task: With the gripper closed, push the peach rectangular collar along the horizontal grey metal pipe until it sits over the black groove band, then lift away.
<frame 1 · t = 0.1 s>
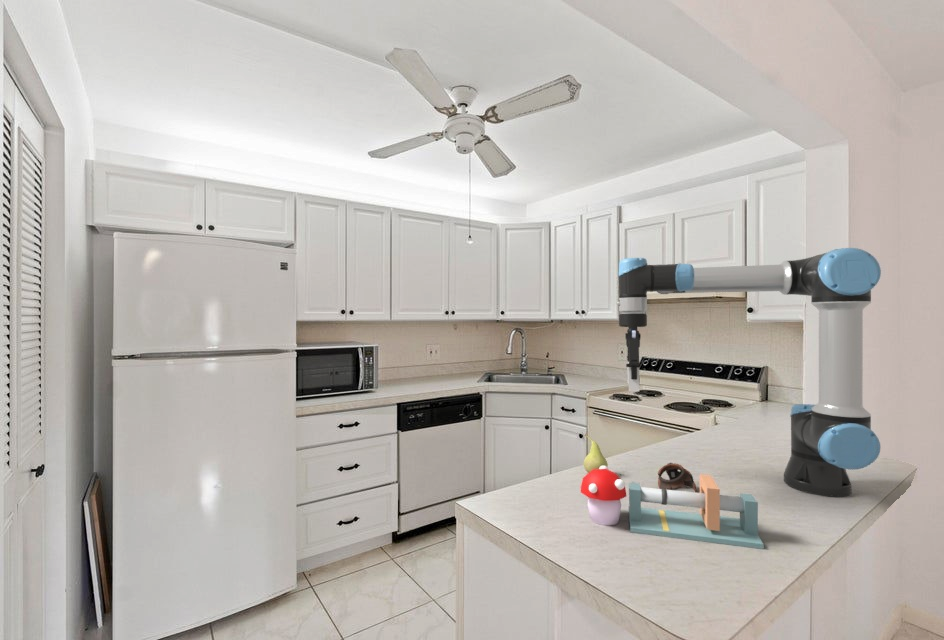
hand: (633, 387, 129), 28 cm above the counter, fingers open, 13 cm apart
pottery mug: (676, 490, 126), on the counter
peach rectangular collar: (709, 501, 102), point 6 cm above the counter, slide at -4.0 cm
fruit: (594, 476, 137), on the counter
mushroom: (603, 519, 108), on the counter
pipe rig: (689, 527, 103), on the counter
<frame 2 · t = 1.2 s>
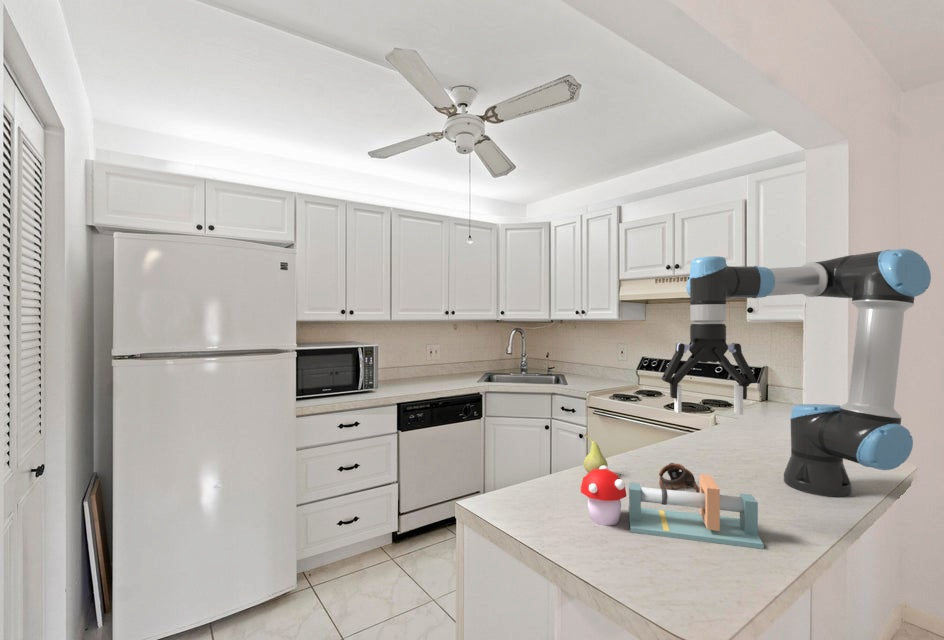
hand: (707, 412, 107), 25 cm above the counter, fingers open, 13 cm apart
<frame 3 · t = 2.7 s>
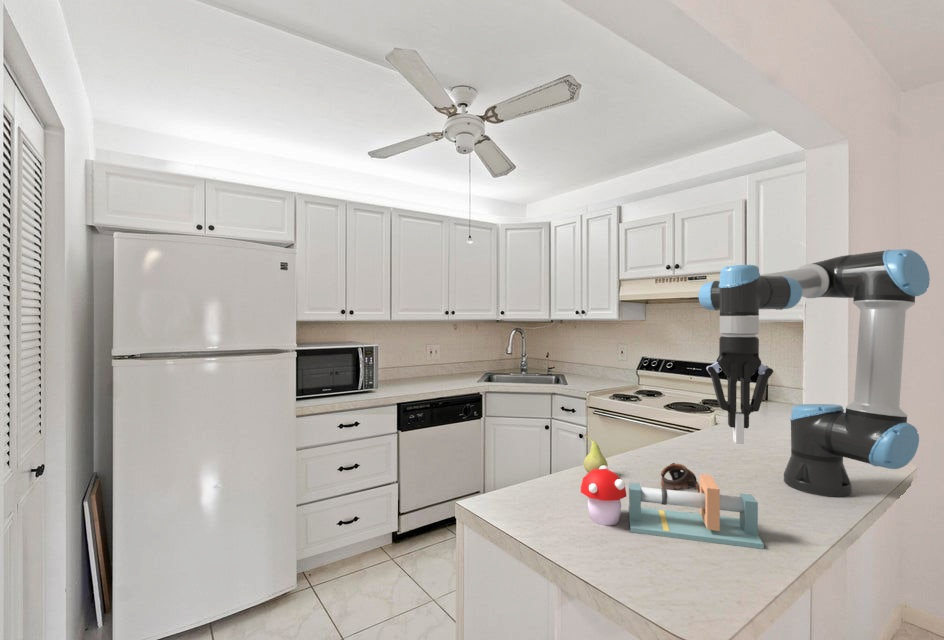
hand: (738, 442, 100), 20 cm above the counter, fingers closed
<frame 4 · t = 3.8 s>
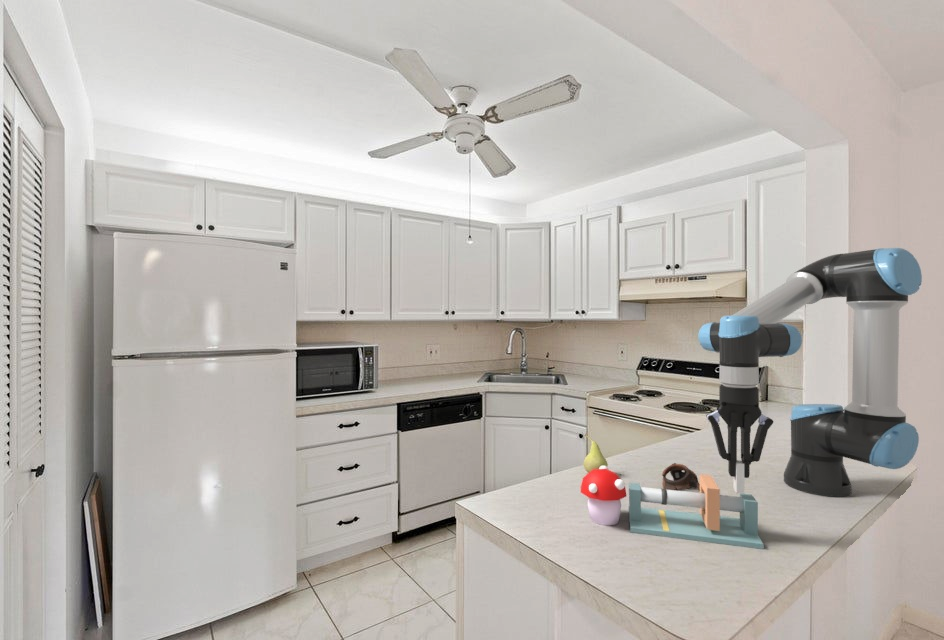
hand: (738, 491, 100), 9 cm above the counter, fingers closed
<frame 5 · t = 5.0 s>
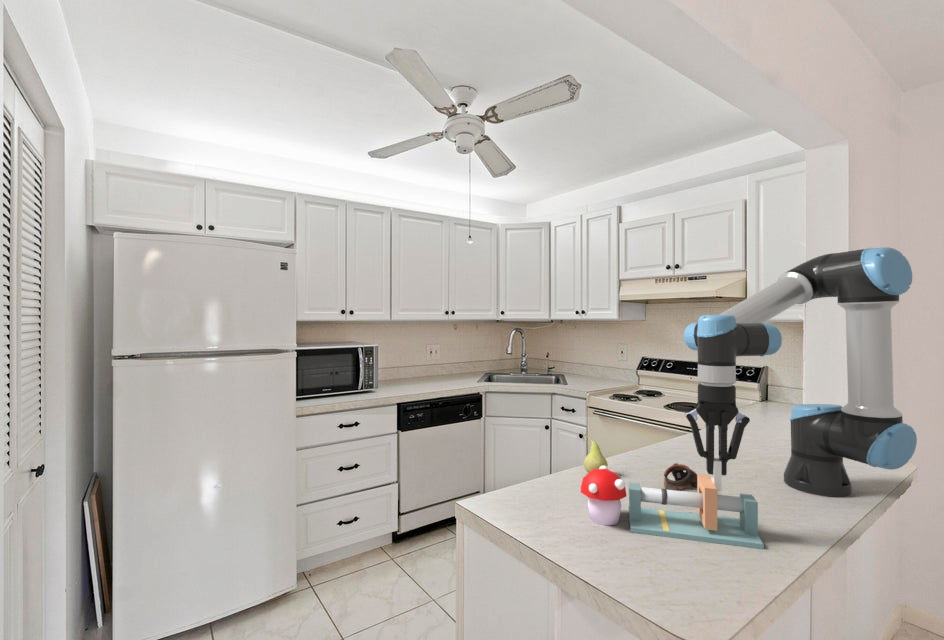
hand: (716, 488, 101), 10 cm above the counter, fingers closed
peach rectangular collar: (706, 501, 102), point 6 cm above the counter, slide at -3.5 cm, touching gripper
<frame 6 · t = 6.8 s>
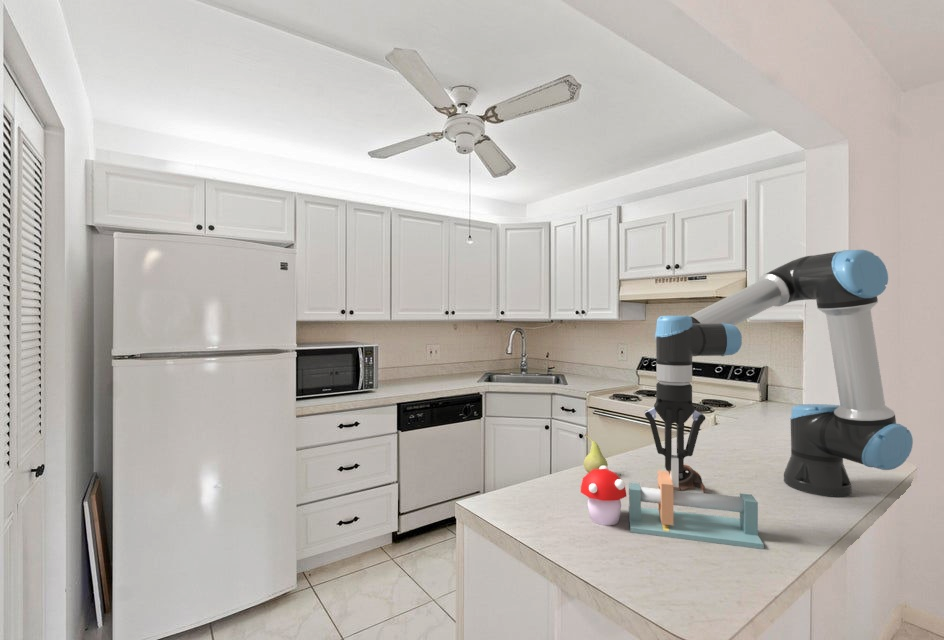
hand: (674, 484, 104), 9 cm above the counter, fingers closed
peach rectangular collar: (665, 496, 104), point 6 cm above the counter, slide at 5.2 cm, touching gripper
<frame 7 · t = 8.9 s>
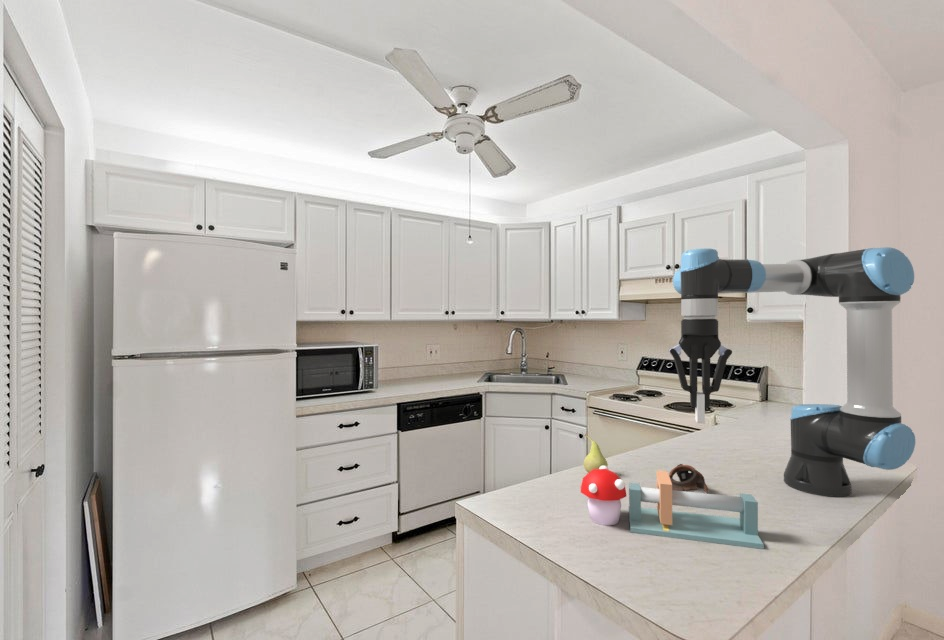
hand: (699, 421, 102), 24 cm above the counter, fingers closed
peach rectangular collar: (664, 496, 105), point 6 cm above the counter, slide at 5.4 cm
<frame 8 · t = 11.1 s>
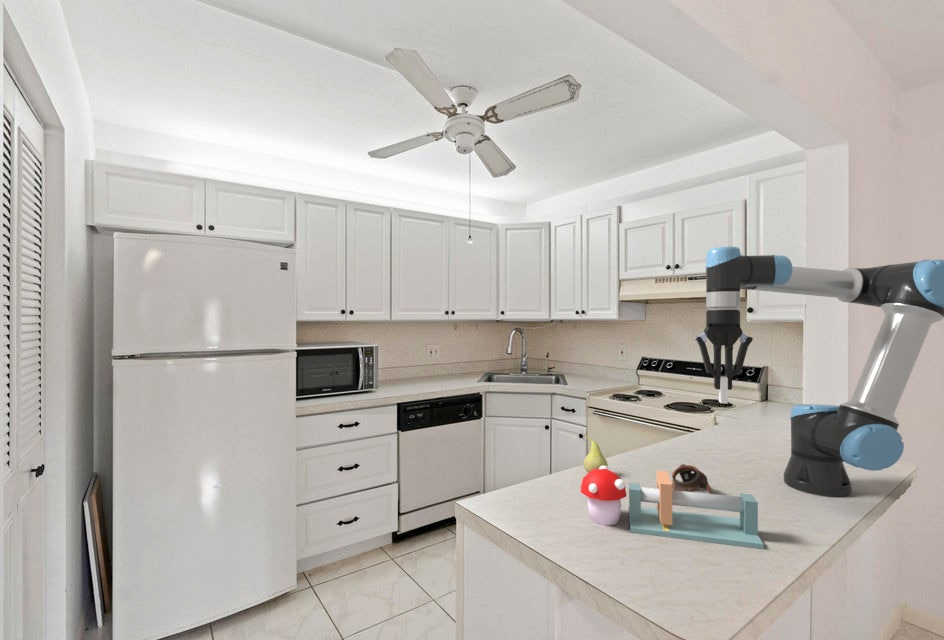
hand: (723, 402, 114), 26 cm above the counter, fingers closed
at the end: peach rectangular collar slide at 5.4 cm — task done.
